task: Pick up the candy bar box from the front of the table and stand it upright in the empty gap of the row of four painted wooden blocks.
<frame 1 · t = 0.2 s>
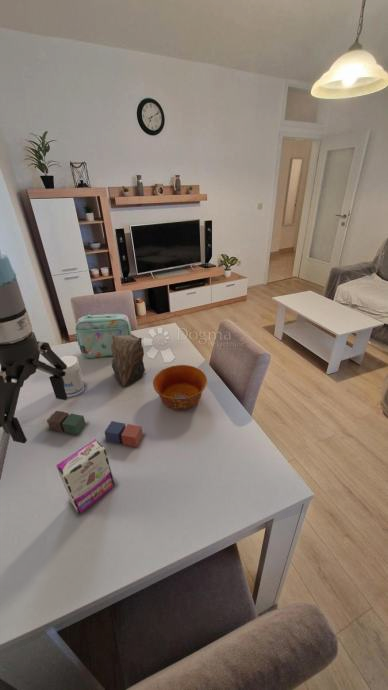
hand: (43, 417, 63), 29 cm above the table, tool pointing down, fingers open, 13 cm apart
supplement tub: (73, 390, 117), on the table
block b: (75, 429, 98), on the table
brown rock: (127, 378, 124), on the table
block a: (61, 426, 99), on the table
block c: (117, 437, 95), on the table
lunch box: (107, 353, 143), on the table
candy bar box: (93, 495, 77), on the table
bowl: (180, 399, 112), on the table
block d: (133, 441, 94), on the table
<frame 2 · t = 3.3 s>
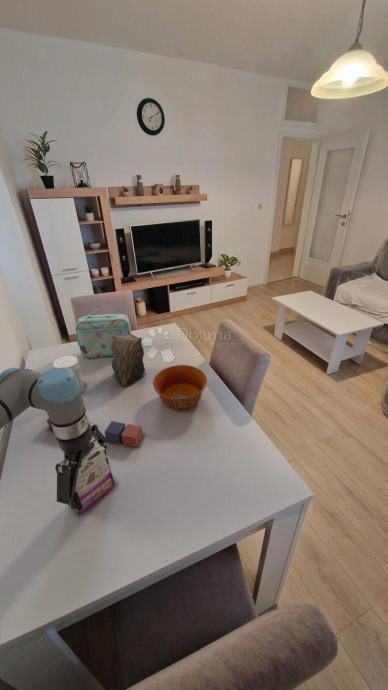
hand: (90, 485, 75), 4 cm above the table, tool pointing down, fingers closed on candy bar box, 12 cm apart
candy bar box: (93, 495, 77), on the table, touching gripper
everything else where it was.
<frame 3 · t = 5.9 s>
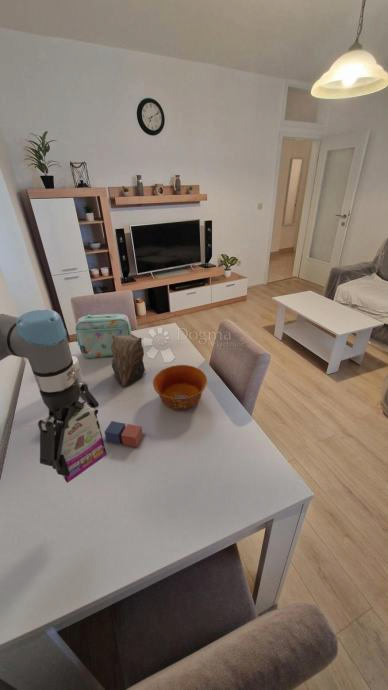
hand: (79, 452, 69), 18 cm above the table, tool pointing down, fingers closed on candy bar box, 12 cm apart
candy bar box: (83, 463, 71), point 13 cm above the table, touching gripper
everything else where it was.
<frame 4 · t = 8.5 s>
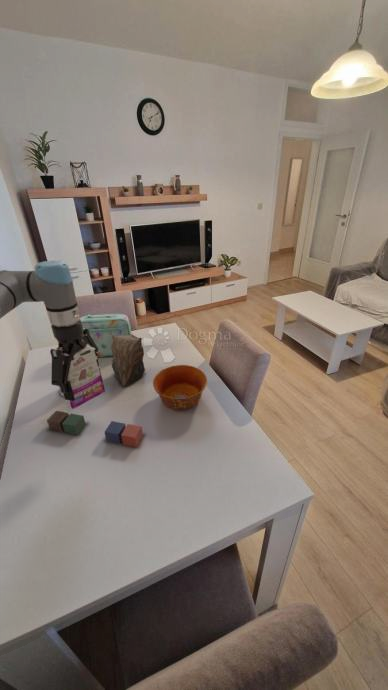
hand: (82, 386, 84), 22 cm above the table, tool pointing down, fingers closed on candy bar box, 12 cm apart
candy bar box: (85, 397, 86), point 18 cm above the table, touching gripper
everything else where it was.
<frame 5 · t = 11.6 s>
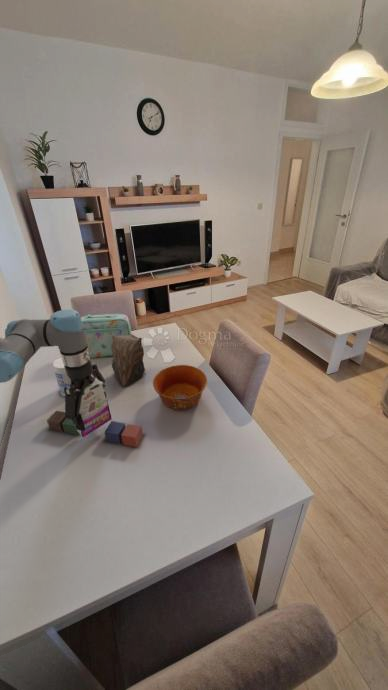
hand: (91, 415, 92), 9 cm above the table, tool pointing down, fingers closed on candy bar box, 12 cm apart
candy bar box: (94, 425, 94), point 4 cm above the table, touching gripper
everything else where it was.
when the fingers open (4 cm above the table, at t = 14.0 s): candy bar box stays where it is, on the table.
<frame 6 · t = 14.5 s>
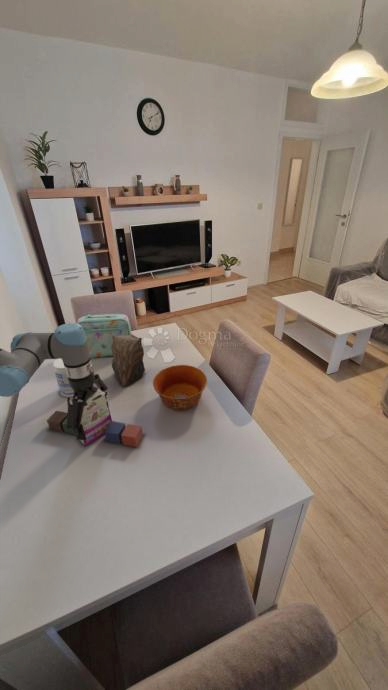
hand: (93, 423, 94), 5 cm above the table, tool pointing down, fingers open, 13 cm apart
candy bar box: (96, 434, 97), on the table
everything else where it was.
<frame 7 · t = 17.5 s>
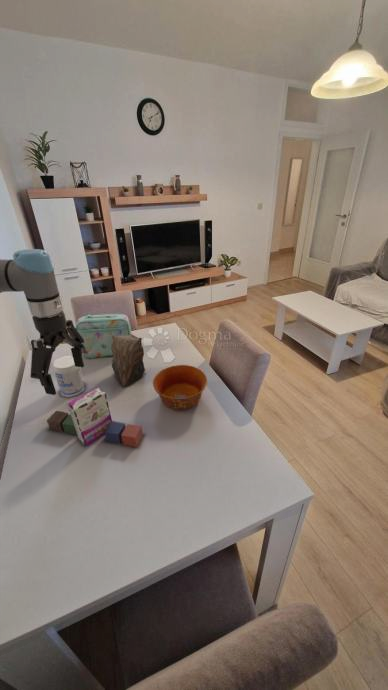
hand: (66, 379, 82), 25 cm above the table, tool pointing down, fingers open, 13 cm apart
nothing on the table moved.
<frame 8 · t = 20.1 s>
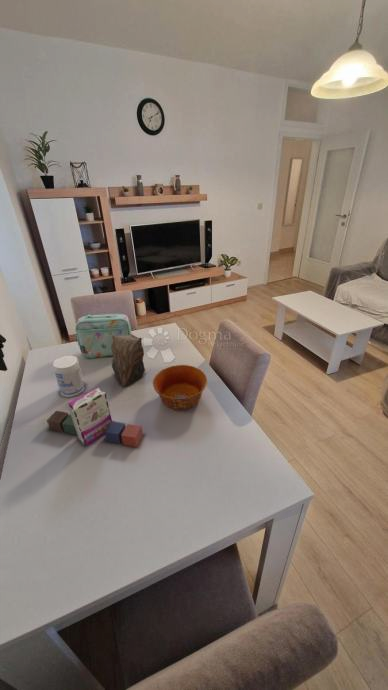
nothing on the table moved.
at the end: candy bar box 0.1 cm from the target spot on the table beside the block b, on the table; candy bar box tilted 0°; block c moved 0.0 cm from its start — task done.
